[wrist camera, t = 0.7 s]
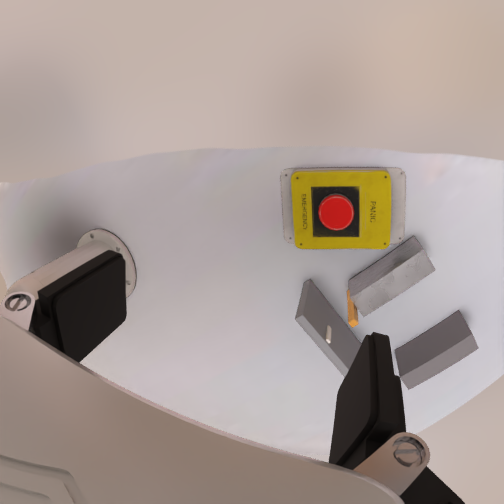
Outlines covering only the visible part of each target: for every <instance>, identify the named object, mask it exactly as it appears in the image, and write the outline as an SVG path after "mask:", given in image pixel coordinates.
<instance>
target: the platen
mask: <svg viewBox="0 0 504 504" xmlns="http://www.w3.org/2000/svg"><path fill="white" fill-rule="evenodd" d="M433 271H435V268H434V266H433V265H432V263H431V261H430V259H429V258H428V256H427V254H426V252H425V251H424V249H423V248H422V246H421V245H420V244H419V242H418V241H417V240H416V238H415V237H414V236H413V237H412V238H410V239H409V240H408V241H406V242H405V243H403V244H402V245H401V246H399V247H398V248H396V249H395V250H393V251H392V252H391V253H389V254H388V255H386V256H385V257H383V258H382V259H380V260H379V261H377V262H376V263H375V264H373V265H372V266H370V267H369V268H367V269H366V270H364V271H363V272H361V273H360V274H358V275H357V276H355V277H354V278H352V279H351V280H349V290H348V291H347V300H348V323H349V324H350V326H351V327H352V328H353V327H354V326H356V325H358V313H357V309H358V310H359V311H360V313H361V314H362V315H363V317H364V316H366V315H368V314H369V313H371V312H373V311H374V310H376V309H377V308H379V307H381V306H382V305H384V304H385V303H387V302H389V301H390V300H392V299H393V298H395V297H396V296H398V295H399V294H401V293H403V292H404V291H406V290H407V289H409V288H410V287H412V286H413V285H415V284H416V283H418V282H419V281H420V280H422V279H423V278H425V277H426V276H428V275H429V274H431V273H432V272H433Z"/></svg>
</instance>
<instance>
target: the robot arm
mask: <svg viewBox="0 0 504 504" xmlns="http://www.w3.org/2000/svg"><path fill="white" fill-rule="evenodd" d="M135 281H136V272H135V267H134V263H133V260H132V257H131V255H130V253H129V251H128V250H127V248H126V247H125V245H124V244H123V243H122V242H121V241H120V240H119V239H118V238H117V237H116V236H115V235H113V234H112V233H110V232H108V231H105V230H101V229H95V230H92V231H89V232H87V233H85V234H84V235H83V236H82V237H81V238H80V240H79V242H78V244H77V248H76V249H75V250H73V251H71V252H69V253H67V254H65V255H63V256H61V257H59V258H57V259H56V260H54V261H52V262H50V263H48V264H46V265H44V266H43V267H41V268H39V269H37V270H35V271H33V272H32V273H30V274H28V275H26V276H25V277H23V278H21V279H19V280H18V281H16V282H15V283H14V284H13V285H12V286H11V287H10V288H9V290H8V291H7V293H6V295H5V298H4V299H3V301H2V302H1V305H0V504H465V503H464V502H463V501H462V500H461V499H460V498H459V497H458V496H457V495H456V494H455V493H454V492H453V491H452V490H451V489H450V488H449V487H448V486H446V484H444V482H443V481H441V480H440V479H439V478H438V477H437V476H436V475H435V474H434V473H433V472H432V471H431V470H430V469H429V468H428V467H427V464H428V462H429V460H430V452H429V448H428V446H427V444H426V443H425V442H424V441H423V440H422V439H421V438H420V437H418V436H417V435H415V434H412V433H407V432H406V425H405V414H404V405H403V396H402V388H401V381H400V377H399V376H396V375H394V369H393V362H392V354H391V348H390V341H389V336H387V335H383V334H379V333H376V332H373V333H372V334H371V335H366V336H365V338H364V340H363V342H362V344H361V346H360V348H359V351H358V353H357V355H356V357H355V359H354V361H353V363H352V365H351V367H350V369H349V371H348V373H347V375H346V376H345V378H344V380H343V382H342V384H341V386H340V388H339V391H338V394H337V402H336V411H335V420H334V428H333V435H332V443H331V450H330V457H329V463H327V462H324V461H319V460H316V459H312V458H309V457H305V456H301V455H298V454H294V453H290V452H287V451H283V450H280V449H276V448H273V447H270V446H267V445H263V444H260V443H257V442H254V441H251V440H248V439H245V438H241V437H239V436H236V435H233V434H230V433H227V432H224V431H221V430H219V429H216V428H213V427H211V426H208V425H205V424H203V423H200V422H198V421H195V420H193V419H190V418H188V417H186V416H183V415H181V414H178V413H176V412H174V411H172V410H169V409H167V408H165V407H163V406H160V405H158V404H156V403H154V402H152V401H150V400H147V399H145V398H143V397H141V396H139V395H137V394H135V393H133V392H131V391H129V390H127V389H125V388H123V387H121V386H119V385H117V384H116V383H114V382H112V381H110V380H108V379H106V378H104V377H103V376H101V375H99V374H97V373H95V372H94V371H92V370H90V369H88V368H87V367H85V366H83V365H82V364H80V363H79V362H80V361H82V360H83V359H84V358H85V357H86V356H87V355H88V354H89V353H90V352H91V351H92V350H93V349H94V348H96V347H97V346H98V345H99V344H100V343H101V342H102V341H103V340H104V339H105V338H106V337H108V336H109V335H110V334H111V333H112V332H113V331H114V330H115V329H116V328H118V327H119V326H120V325H121V324H122V323H123V322H124V321H125V319H126V314H127V312H126V298H127V297H128V296H129V295H130V294H131V293H132V291H133V289H134V286H135Z"/></svg>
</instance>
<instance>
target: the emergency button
mask: <svg viewBox="0 0 504 504" xmlns="http://www.w3.org/2000/svg"><path fill="white" fill-rule="evenodd" d="M280 181H281V196H282V211H283V228H284V238H285V240H286V241H287V242H288V243H291V244H295V246H296V247H297V248H300V249H385V248H387V247H388V246H389V244H398V243H400V242H402V241H403V238H404V229H405V202H406V175H405V172H404V171H403V170H402V169H400V168H389V167H320V168H289V169H285V170H284V171H283V172H282V173H281V176H280Z"/></svg>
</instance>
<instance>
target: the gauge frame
mask: <svg viewBox="0 0 504 504" xmlns="http://www.w3.org/2000/svg"><path fill="white" fill-rule="evenodd" d="M295 320H296V321H297V322H298V323H299V325H300V326H301V327H302V328H303V329H304V330H305V332H306V333H307V334H308V335H309V336H310V337H311V339H312V340H313V341H314V342H315V343H316V344H317V346H318V347H319V348H320V349H321V350H322V351H323V353H324V354H325V355H326V356H327V357H328V358H329V360H330V361H331V362H332V363H333V364H334V365H335V367H336V368H337V369H338V370H339V371H340V372H341V374H342V375H343V376H344V377H345V376H346V375H347V373H348V371H349V369H350V367H351V365H352V363H353V361H354V359H355V357H356V355H357V353H358V351H359V348H360V346H361V343H360V342H359V341H358V339H357V338H356V337H355V335H354V334H353V333H352V332H351V330H350V329H349V328H348V326H347V325H346V324H345V323H344V321H343V320H342V319H341V317H340V316H339V315H338V314H337V312H336V311H335V310H334V308H333V307H332V306H331V305H330V303H329V302H328V301H327V300H326V298H325V297H324V296H323V295H322V293H321V292H320V291H319V289H318V288H317V287H316V286H315V284H314V283H313V282H312V281H311V279H309V280H307V281H306V282H304V284H303V289H302V293H301V297H300V301H299V305H298V309H297V313H296V317H295ZM477 349H478V346H477V343H476V341H475V339H474V336H473V334H472V332H471V330H470V329H469V327H468V325H467V323H466V322H465V320H464V318H463V317H462V315H461V313H460V311H459V310H458V311H457V312H455V313H454V314H452V315H451V316H449V317H448V318H446V319H445V320H443V321H442V322H440V323H439V324H437V325H435V326H434V327H432V328H431V329H429V330H428V331H426V332H424V333H423V334H421V335H420V336H418V337H416V338H415V339H413V340H411V341H410V342H408V343H406V344H404V345H403V346H401V347H399V348H398V349H396V350H395V354H396V359H397V365H398V370H399V375H400V378H401V380H402V381H403V382H404V384H405V385H406V387H407V388H408V390H409V389H411V388H413V387H415V386H417V385H419V384H420V383H422V382H424V381H426V380H428V379H429V378H431V377H433V376H435V375H437V374H438V373H440V372H442V371H443V370H445V369H447V368H448V367H450V366H452V365H453V364H455V363H457V362H458V361H460V360H461V359H463V358H465V357H466V356H468V355H469V354H471V353H472V352H474V351H475V350H477Z"/></svg>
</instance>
